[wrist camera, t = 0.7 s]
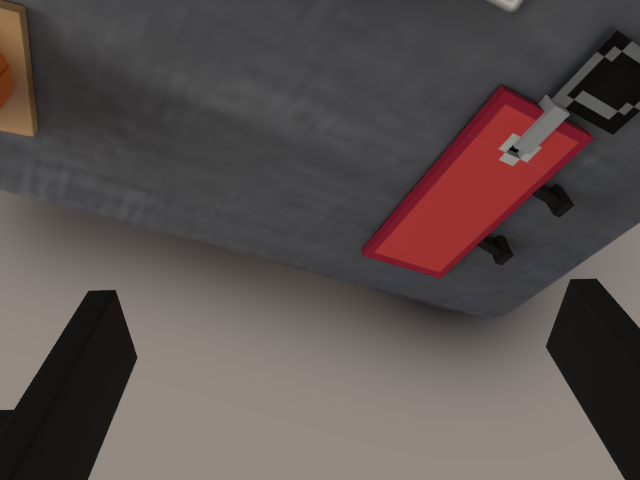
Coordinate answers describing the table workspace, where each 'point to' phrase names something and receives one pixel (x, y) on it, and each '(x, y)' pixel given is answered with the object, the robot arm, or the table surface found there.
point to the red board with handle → (507, 164)
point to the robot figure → (507, 4)
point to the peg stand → (17, 71)
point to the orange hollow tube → (5, 81)
